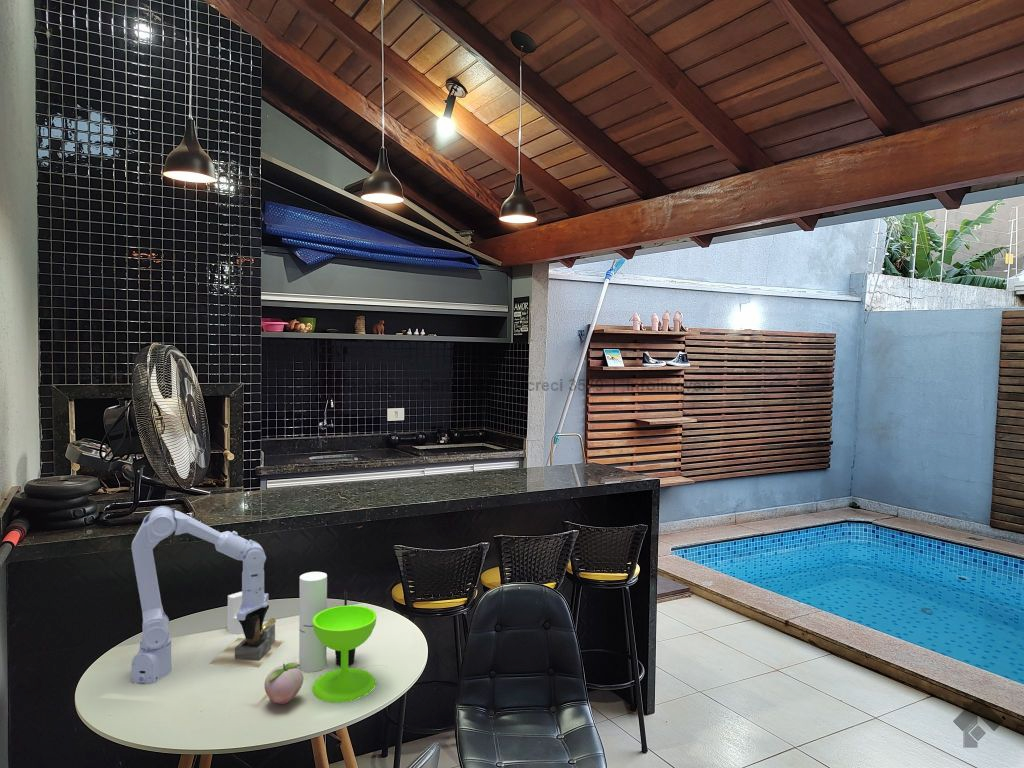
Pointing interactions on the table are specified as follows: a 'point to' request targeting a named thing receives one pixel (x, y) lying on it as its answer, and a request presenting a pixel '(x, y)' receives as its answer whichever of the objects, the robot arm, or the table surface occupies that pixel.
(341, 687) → the wineglass
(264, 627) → the pin
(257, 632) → the peg
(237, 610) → the base with upright slab
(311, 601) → the cylindrical container
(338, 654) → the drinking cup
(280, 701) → the decorative fruit
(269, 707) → the table surface
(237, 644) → the dock
